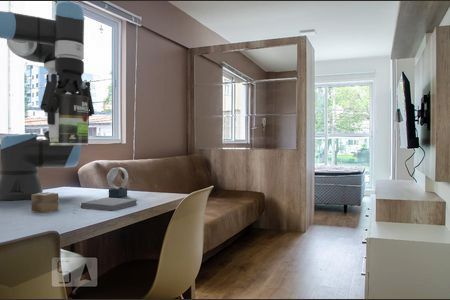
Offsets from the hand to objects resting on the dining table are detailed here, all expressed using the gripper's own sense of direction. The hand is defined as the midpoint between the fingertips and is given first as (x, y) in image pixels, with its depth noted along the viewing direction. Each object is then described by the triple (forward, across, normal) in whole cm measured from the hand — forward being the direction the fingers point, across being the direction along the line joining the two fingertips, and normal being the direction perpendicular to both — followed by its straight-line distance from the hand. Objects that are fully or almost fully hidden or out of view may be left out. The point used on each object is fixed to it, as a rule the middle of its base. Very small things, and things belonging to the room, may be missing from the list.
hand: (69, 137), depth 100 cm
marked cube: (+22, 0, +9) cm, 24 cm away
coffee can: (+3, 0, 0) cm, 3 cm away
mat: (+22, +14, -3) cm, 26 cm away
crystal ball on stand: (+22, +31, +8) cm, 39 cm away
